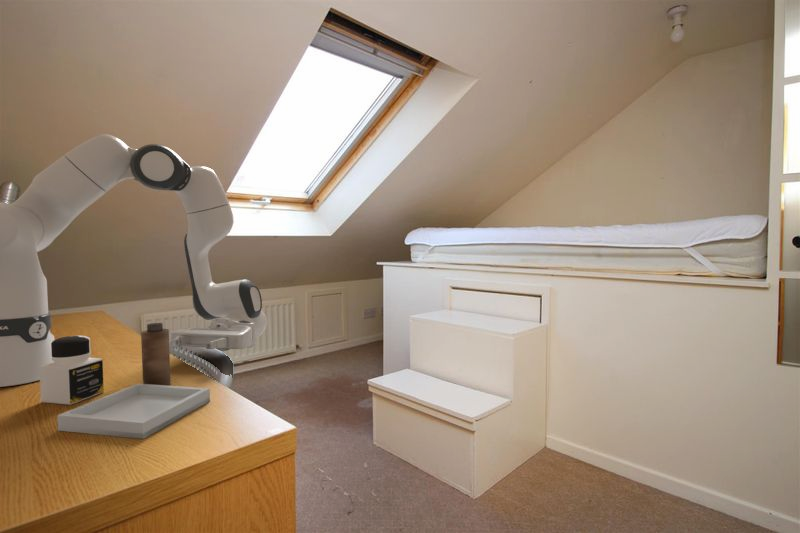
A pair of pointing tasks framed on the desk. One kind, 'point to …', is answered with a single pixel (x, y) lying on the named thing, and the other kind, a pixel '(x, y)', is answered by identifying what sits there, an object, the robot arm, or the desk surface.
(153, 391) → the pale dish
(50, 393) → the medicine bottle
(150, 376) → the walnut pepper mill
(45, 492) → the desk surface
